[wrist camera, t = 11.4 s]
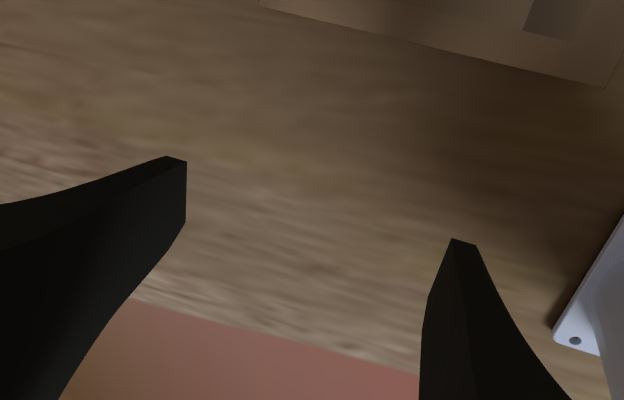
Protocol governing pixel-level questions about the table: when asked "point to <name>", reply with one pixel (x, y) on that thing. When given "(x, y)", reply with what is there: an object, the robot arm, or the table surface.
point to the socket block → (492, 30)
